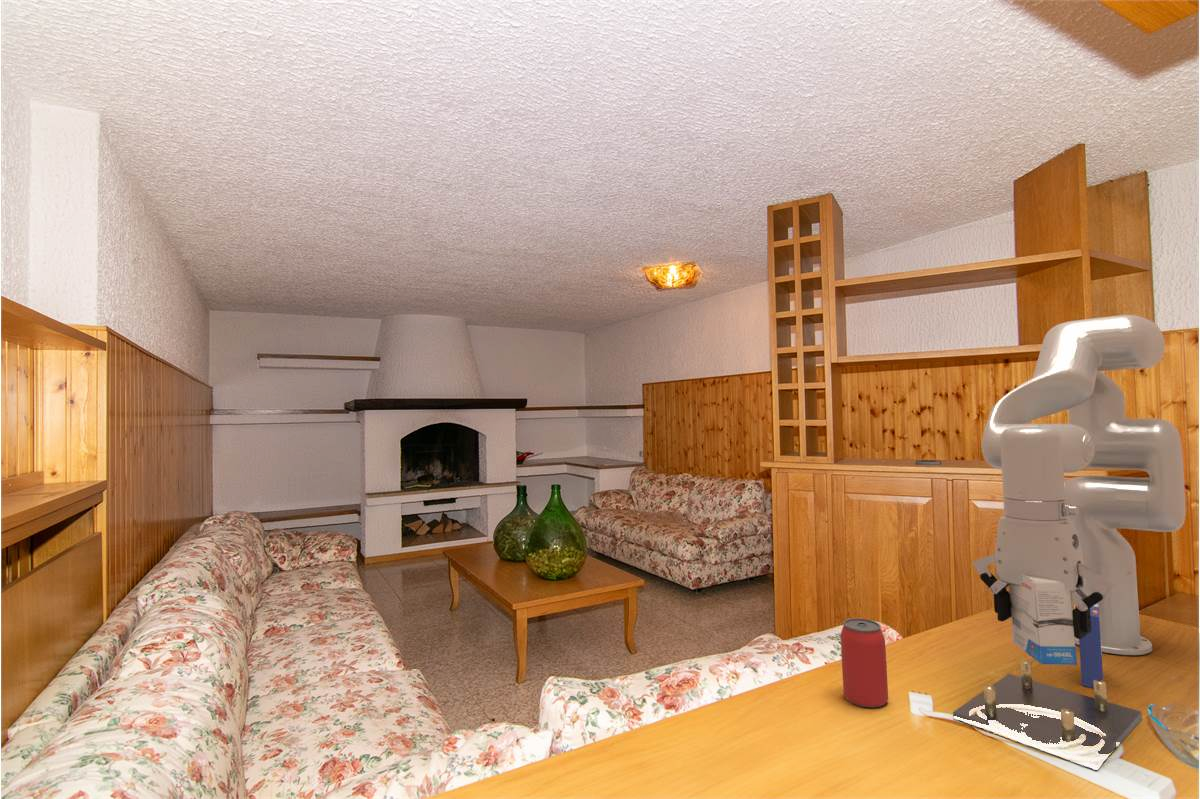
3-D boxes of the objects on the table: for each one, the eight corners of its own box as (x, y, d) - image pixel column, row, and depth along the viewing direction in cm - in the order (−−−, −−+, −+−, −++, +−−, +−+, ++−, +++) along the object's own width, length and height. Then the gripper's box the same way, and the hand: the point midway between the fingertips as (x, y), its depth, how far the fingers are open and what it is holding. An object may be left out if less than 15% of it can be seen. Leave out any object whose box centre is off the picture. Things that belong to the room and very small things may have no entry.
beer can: (888, 693, 98) (884, 619, 98) (888, 712, 92) (884, 633, 92) (844, 687, 101) (840, 615, 101) (842, 705, 95) (838, 628, 95)
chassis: (1009, 679, 101) (1007, 649, 101) (1142, 718, 87) (1139, 683, 87) (953, 718, 89) (951, 684, 89) (1096, 771, 76) (1094, 730, 76)
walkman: (1104, 690, 96) (1099, 614, 96) (1081, 685, 98) (1077, 611, 98) (1103, 672, 102) (1098, 601, 102) (1082, 668, 104) (1078, 599, 104)
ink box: (1078, 666, 84) (1073, 581, 84) (1038, 665, 85) (1033, 581, 85) (1046, 643, 92) (1042, 566, 92) (1010, 642, 93) (1006, 565, 93)
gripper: (1117, 513, 84) (1124, 637, 84) (981, 502, 98) (987, 608, 98) (1099, 520, 80) (1107, 651, 79) (960, 507, 94) (966, 618, 93)
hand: (1041, 627), depth 89 cm, fingers closed on ink box, 9 cm apart
